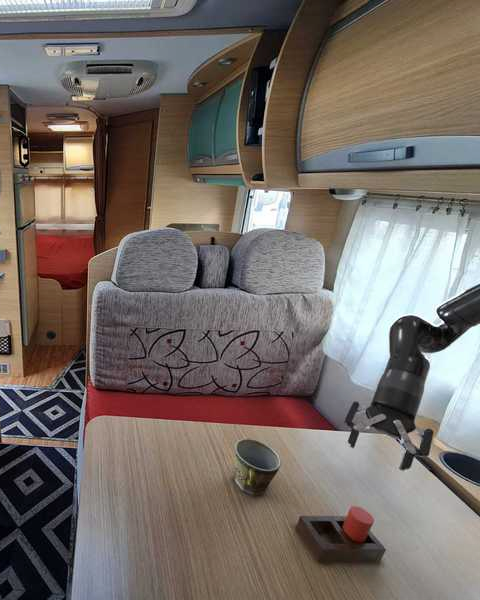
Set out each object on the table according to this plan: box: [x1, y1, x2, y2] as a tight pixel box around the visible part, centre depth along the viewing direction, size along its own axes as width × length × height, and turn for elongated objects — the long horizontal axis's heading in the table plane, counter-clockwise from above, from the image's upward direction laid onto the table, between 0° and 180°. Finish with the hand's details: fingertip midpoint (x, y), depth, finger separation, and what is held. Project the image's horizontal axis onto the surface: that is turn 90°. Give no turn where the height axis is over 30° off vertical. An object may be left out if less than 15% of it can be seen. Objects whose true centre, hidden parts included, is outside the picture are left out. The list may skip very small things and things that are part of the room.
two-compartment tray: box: [295, 515, 387, 563], centre depth 69 cm, size 13×7×4 cm, turn 91°
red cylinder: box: [342, 505, 375, 544], centre depth 68 cm, size 4×4×9 cm
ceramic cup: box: [234, 438, 282, 496], centre depth 80 cm, size 13×10×10 cm
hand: (376, 458), depth 73 cm, fingers open, 8 cm apart
